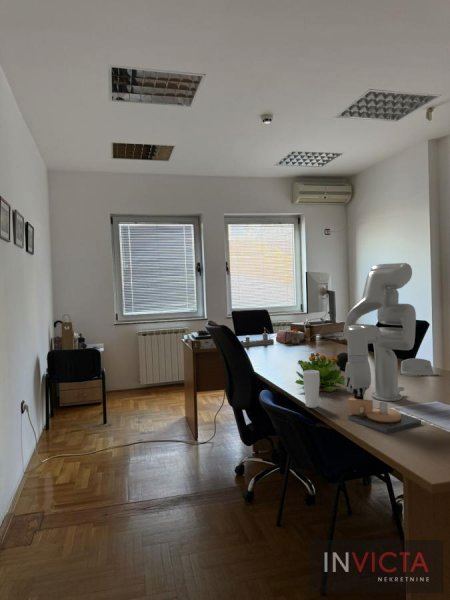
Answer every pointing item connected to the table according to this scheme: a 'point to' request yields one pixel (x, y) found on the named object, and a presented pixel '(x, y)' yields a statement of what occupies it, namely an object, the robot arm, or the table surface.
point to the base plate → (385, 426)
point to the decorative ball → (342, 360)
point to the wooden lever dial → (373, 410)
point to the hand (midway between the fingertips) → (359, 404)
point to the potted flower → (323, 372)
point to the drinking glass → (311, 387)
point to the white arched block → (416, 367)
